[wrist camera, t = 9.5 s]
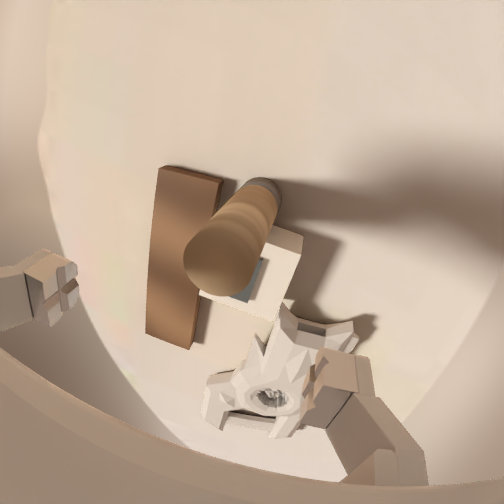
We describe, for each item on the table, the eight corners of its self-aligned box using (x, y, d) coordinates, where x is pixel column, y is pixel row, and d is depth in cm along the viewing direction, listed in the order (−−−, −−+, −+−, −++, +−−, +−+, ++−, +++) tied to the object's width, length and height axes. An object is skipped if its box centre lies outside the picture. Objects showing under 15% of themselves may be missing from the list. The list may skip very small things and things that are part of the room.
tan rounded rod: (244, 172, 19) (188, 222, 11) (286, 184, 18) (260, 244, 10) (235, 211, 20) (179, 284, 12) (275, 223, 20) (244, 305, 12)
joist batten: (165, 165, 19) (158, 168, 18) (223, 179, 19) (218, 183, 18) (150, 326, 26) (145, 333, 25) (193, 342, 25) (188, 350, 25)
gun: (217, 306, 19) (370, 347, 18) (231, 276, 22) (366, 313, 21) (195, 432, 28) (288, 456, 28) (204, 407, 31) (292, 430, 31)
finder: (229, 208, 20) (213, 227, 17) (303, 234, 20) (301, 258, 17) (212, 272, 22) (196, 298, 19) (278, 296, 22) (272, 325, 19)
